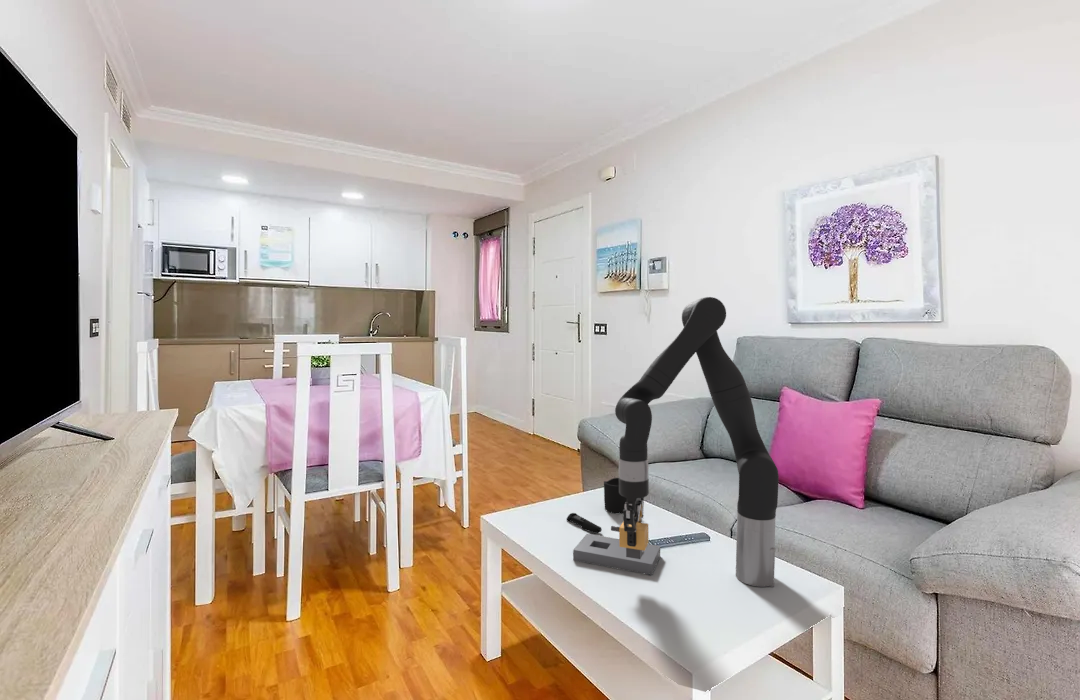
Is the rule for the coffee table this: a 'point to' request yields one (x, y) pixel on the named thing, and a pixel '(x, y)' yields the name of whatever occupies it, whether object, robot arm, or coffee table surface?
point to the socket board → (615, 554)
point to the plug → (641, 539)
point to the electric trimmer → (583, 523)
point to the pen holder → (613, 496)
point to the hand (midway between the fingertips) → (634, 541)
